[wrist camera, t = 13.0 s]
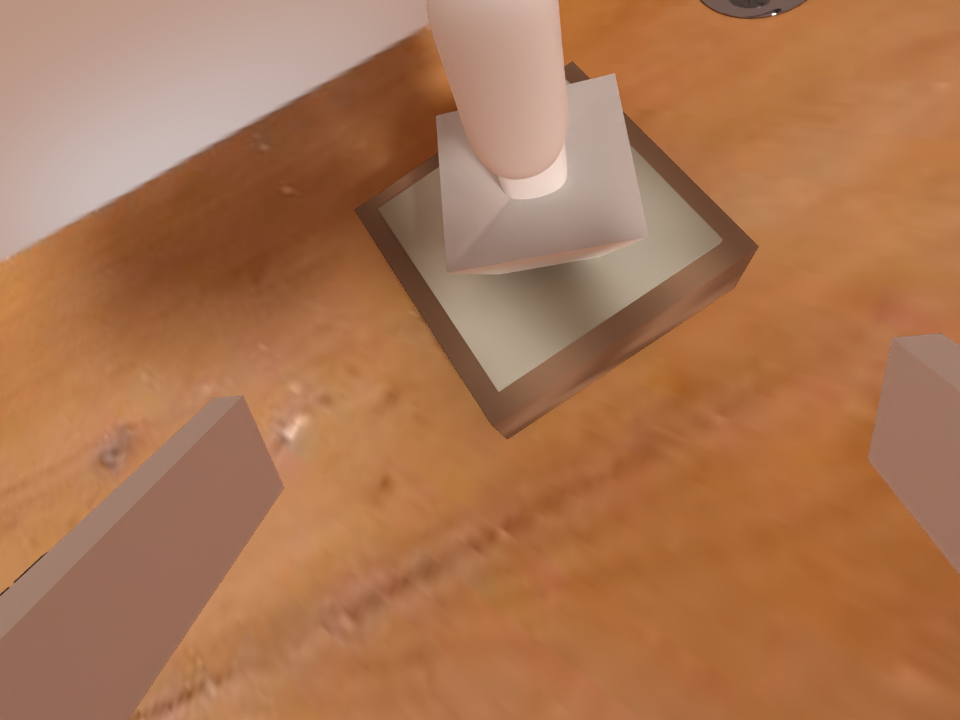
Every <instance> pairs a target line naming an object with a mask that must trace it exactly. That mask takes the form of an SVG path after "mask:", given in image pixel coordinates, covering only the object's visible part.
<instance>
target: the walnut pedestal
mask: <svg viewBox="0 0 960 720" xmlns="http://www.w3.org/2000/svg"><path fill="white" fill-rule="evenodd" d="M564 70H565V79H566V85H568V84H572V83H576V82H580V81H585V80H589V79H590V78H589V77H588V76H587V75H586V74H585V73H584V72H583V71H582V70H581V69H580V68H579V67H578V66H577V65H576V64H575V63H574V62H573V61H572V62H570V63H569V64H568V65H566V66H565V67H564ZM623 115H624V119H625V124H626V129H627V134H628V139H629V143H630V148H631V153H632V158H633V163H634V167H635V172H636V177H637V182H638V187H639V191H640V196H641V201H642V206H643V211H644V215H645V220H646V225H647V230H648V235H649V237H647V238H645V239H642V240H640V241H638V242H635V243H633V244H630V245H628V246H625V247H623V248H620V249H618V250H616V251H613V252H611V253H608V254H606V255H603V256H601V257H597V258H591V259H586V260H580V261H574V262H568V263H563V264H557V265H551V266H546V267H540V268H534V269H528V270H523V271H517V272H511V273H506V274H500V275H496V274H463V273H447V269H446V255H445V241H444V226H443V212H442V198H441V183H440V169H439V155H438V153H437V154H436V155H434V156H433V157H431V158H430V159H428V160H427V161H425V162H424V163H422V164H421V165H419V166H418V167H417V168H415V169H414V170H412V171H411V172H409V173H408V174H406V175H405V176H403V177H402V178H400V179H399V180H397V181H396V182H395V183H393V184H392V185H390V186H389V187H387V188H386V189H384V190H383V191H381V192H380V193H378V194H377V195H375V196H374V197H373V198H371V199H370V200H368V201H367V202H365V203H364V204H362V205H361V206H359V207H358V208H356V209H355V211H356V213H357V215H358V216H359V218H360V219H361V221H362V222H363V224H364V226H365V227H366V229H367V230H368V232H369V233H370V235H371V237H372V238H373V240H374V241H375V243H376V245H377V246H378V248H379V249H380V251H381V252H382V254H383V256H384V257H385V259H386V260H387V262H388V263H389V265H390V267H391V268H392V270H393V271H394V273H395V274H396V276H397V278H398V279H399V281H400V282H401V284H402V285H403V287H404V289H405V290H406V292H407V293H408V295H409V296H410V298H411V300H412V301H413V303H414V304H415V306H416V307H417V309H418V311H419V312H420V314H421V315H422V317H423V318H424V320H425V322H426V323H427V325H428V326H429V328H430V329H431V331H432V333H433V334H434V336H435V337H436V339H437V340H438V342H439V344H440V345H441V347H442V348H443V350H444V351H445V353H446V355H447V356H448V358H449V359H450V361H451V363H452V364H453V366H454V367H455V369H456V370H457V372H458V374H459V375H460V377H461V378H462V380H463V381H464V383H465V385H466V386H467V388H468V389H469V391H470V392H471V394H472V396H473V397H474V399H475V400H476V402H477V403H478V405H479V407H480V408H481V410H482V411H483V413H484V414H485V416H486V418H487V419H488V421H489V422H490V424H491V425H492V426H493V427H494V428H495V429H496V430H497V431H499V432H500V433H501V434H502V435H503V436H504V437H505V438H506V439H509V438H510V437H512V436H513V435H515V434H516V433H518V432H519V431H521V430H522V429H524V428H525V427H527V426H528V425H530V424H531V423H533V422H534V421H536V420H537V419H539V418H540V417H542V416H543V415H545V414H546V413H548V412H549V411H551V410H552V409H554V408H555V407H557V406H558V405H560V404H561V403H563V402H564V401H566V400H567V399H569V398H570V397H572V396H573V395H575V394H576V393H578V392H579V391H581V390H582V389H584V388H585V387H587V386H588V385H590V384H591V383H593V382H594V381H595V380H597V379H598V378H600V377H601V376H603V375H604V374H606V373H607V372H609V371H610V370H612V369H613V368H615V367H616V366H618V365H619V364H621V363H622V362H624V361H625V360H627V359H628V358H630V357H631V356H633V355H634V354H636V353H637V352H639V351H640V350H642V349H643V348H645V347H646V346H648V345H649V344H651V343H652V342H654V341H655V340H657V339H658V338H660V337H661V336H663V335H664V334H666V333H667V332H669V331H670V330H672V329H673V328H675V327H676V326H678V325H679V324H681V323H682V322H684V321H685V320H687V319H688V318H690V317H691V316H693V315H694V314H696V313H697V312H699V311H700V310H702V309H703V308H705V307H706V306H708V305H709V304H711V303H712V302H714V301H715V300H717V299H718V298H720V297H721V296H723V295H724V294H726V293H727V292H729V291H730V290H732V289H733V288H735V286H736V284H737V283H738V281H739V279H740V277H741V276H742V274H743V272H744V271H745V269H746V267H747V266H748V264H749V262H750V260H751V259H752V257H753V255H754V254H755V252H756V250H757V248H758V247H759V246H758V245H757V244H756V243H755V242H754V241H753V240H752V239H751V238H750V237H749V236H748V235H747V234H746V233H745V232H744V231H743V230H742V229H741V228H740V227H739V226H738V225H737V224H736V223H735V222H734V221H733V220H732V219H731V218H730V217H729V216H728V215H727V214H726V213H725V212H724V211H723V210H722V209H721V208H720V207H719V206H717V205H716V204H715V203H714V202H713V201H712V200H711V199H710V198H709V197H708V196H707V195H706V194H705V193H704V192H703V191H702V190H701V189H700V188H699V187H698V186H697V185H696V184H695V183H694V182H693V181H692V180H691V179H690V178H689V177H688V176H687V175H686V174H685V173H684V172H683V171H682V170H681V169H680V168H679V167H678V166H677V165H676V164H675V163H674V162H673V161H672V160H671V159H670V158H669V157H668V156H667V155H666V154H665V153H664V152H663V151H662V150H661V149H660V148H659V147H658V146H657V145H656V144H655V143H654V142H653V141H652V140H651V139H650V138H649V137H648V136H647V135H646V134H645V133H644V132H643V131H642V130H641V129H640V128H639V127H638V126H637V125H636V124H635V123H634V122H633V121H632V120H631V119H630V118H629V117H628V116H627V115H626V114H625V113H624V112H623Z"/></svg>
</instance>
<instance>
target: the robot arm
mask: <svg viewBox="0 0 960 720" xmlns="http://www.w3.org/2000/svg"><path fill="white" fill-rule="evenodd" d="M868 461H869V462H870V463H871V464H872V466H873V467H874V468H875V469H876V471H877V472H878V473H879V474H880V476H881V477H882V478H883V479H884V481H885V482H886V483H887V484H888V486H889V487H890V488H891V489H892V491H893V492H894V493H895V494H896V496H897V497H898V498H899V499H900V501H901V502H902V503H903V504H904V506H905V507H906V508H907V509H908V511H909V512H910V513H911V514H912V516H913V517H914V518H915V519H916V521H917V522H918V523H919V524H920V526H921V527H922V528H923V529H924V531H925V532H926V533H927V534H928V536H929V537H930V538H931V539H932V541H933V542H934V543H935V544H936V546H937V547H938V548H939V549H940V551H941V552H942V553H943V554H944V556H945V557H946V558H947V559H948V561H949V562H950V563H951V564H952V566H953V567H954V568H955V569H956V571H957V572H958V573H959V574H960V345H958V344H957V343H955V342H954V341H952V340H951V339H949V338H948V337H946V336H945V335H943V334H942V333H939V334H928V335H916V336H905V337H894V338H892V341H891V346H890V351H889V356H888V361H887V366H886V371H885V376H884V381H883V386H882V391H881V396H880V401H879V406H878V411H877V416H876V421H875V425H874V430H873V435H872V440H871V445H870V450H869V455H868ZM283 489H284V485H283V483H282V481H281V479H280V476H279V474H278V472H277V470H276V468H275V465H274V463H273V461H272V459H271V456H270V454H269V452H268V450H267V448H266V445H265V443H264V441H263V439H262V436H261V434H260V432H259V430H258V428H257V425H256V423H255V421H254V419H253V416H252V414H251V412H250V410H249V408H248V405H247V403H246V401H245V399H244V396H243V395H242V396H231V397H220V398H213V399H212V400H211V401H210V402H209V403H208V404H207V405H206V406H205V407H204V408H203V409H202V410H200V411H199V412H198V413H197V414H196V415H195V416H194V417H193V418H192V419H191V420H190V421H189V422H188V423H186V424H185V425H184V426H183V427H182V428H181V429H180V430H179V431H178V432H177V433H176V434H175V435H174V436H172V437H171V438H170V439H169V440H168V441H167V442H166V443H165V444H164V445H163V446H162V447H161V448H160V449H158V450H157V451H156V452H155V453H154V454H153V455H152V456H151V457H150V458H149V459H148V460H147V461H146V462H144V463H143V464H142V465H141V466H140V467H139V468H138V469H137V470H136V471H135V472H134V473H133V474H132V475H130V476H129V477H128V478H127V479H126V480H125V481H124V482H123V483H122V484H121V485H120V486H119V487H118V488H116V489H115V490H114V491H113V492H112V493H111V494H110V495H109V496H108V497H107V498H106V499H105V500H104V501H102V502H101V503H100V504H99V505H98V506H97V507H96V508H95V509H94V510H93V511H92V512H91V513H90V514H88V515H87V516H86V517H85V518H84V519H83V520H82V521H81V522H80V523H79V524H78V525H77V526H76V527H74V528H73V529H72V530H71V531H70V532H69V533H68V534H67V535H66V536H65V537H64V538H63V539H62V540H60V541H59V542H58V543H57V544H56V545H55V546H54V547H53V548H52V549H51V550H50V551H49V552H47V553H46V554H44V555H43V556H41V557H40V558H39V559H38V560H37V561H36V562H35V563H34V564H33V565H32V566H31V567H29V568H28V569H27V570H26V571H25V572H24V573H23V574H22V575H21V576H20V577H19V578H18V579H16V580H15V581H14V584H13V585H12V586H11V587H8V588H7V589H6V590H5V591H3V592H2V593H1V594H0V720H129V718H130V717H131V715H132V714H133V712H134V711H135V709H136V708H137V706H138V705H139V703H140V702H141V700H142V699H143V697H144V696H145V694H146V693H147V691H148V690H149V688H150V687H151V685H152V684H153V682H154V681H155V679H156V678H157V676H158V675H159V673H160V672H161V670H162V669H163V668H164V666H165V665H166V663H167V662H168V660H169V659H170V657H171V656H172V654H173V653H174V651H175V650H176V648H177V647H178V645H179V644H180V642H181V641H182V639H183V638H184V636H185V635H186V633H187V632H188V630H189V629H190V627H191V626H192V624H193V623H194V621H195V620H196V618H197V617H198V615H199V614H200V612H201V611H202V609H203V608H204V606H205V605H206V603H207V602H208V601H209V599H210V598H211V596H212V595H213V593H214V592H215V590H216V589H217V587H218V586H219V584H220V583H221V581H222V580H223V578H224V577H225V575H226V574H227V572H228V571H229V569H230V568H231V566H232V565H233V563H234V562H235V560H236V559H237V557H238V556H239V554H240V553H241V551H242V550H243V548H244V547H245V545H246V544H247V542H248V541H249V539H250V538H251V537H252V535H253V534H254V532H255V531H256V529H257V528H258V526H259V525H260V523H261V522H262V520H263V519H264V517H265V516H266V514H267V513H268V511H269V510H270V508H271V507H272V505H273V504H274V502H275V501H276V499H277V498H278V496H279V495H280V493H281V492H282V490H283Z"/></svg>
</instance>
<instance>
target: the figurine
mask: <svg viewBox="0 0 960 720" xmlns="http://www.w3.org/2000/svg"><path fill="white" fill-rule="evenodd" d="M427 12H428V18H429V23H430V27H431V31H432V34H433V38H434V41H435V44H436V47H437V50H438V52H439V55H440V58H441V61H442V64H443V67H444V70H445V73H446V76H447V79H448V82H449V85H450V88H451V91H452V94H453V97H454V100H455V103H456V106H457V109H458V111H453V112H449V113H445V114H441V115H436V126H437V140H438V155H439V169H440V183H441V198H442V212H443V226H444V241H445V255H446V269H447V273H463V274H496V275H500V274H506V273H511V272H517V271H523V270H528V269H534V268H540V267H546V266H551V265H557V264H563V263H568V262H574V261H580V260H586V259H591V258H597V257H601V256H603V255H606V254H608V253H611V252H613V251H616V250H618V249H620V248H623V247H625V246H628V245H630V244H633V243H635V242H638V241H640V240H642V239H645V238H647V237H649V235H648V230H647V225H646V220H645V215H644V211H643V206H642V201H641V196H640V191H639V187H638V182H637V177H636V172H635V167H634V163H633V158H632V153H631V148H630V143H629V139H628V134H627V129H626V124H625V119H624V115H623V110H622V105H621V100H620V95H619V91H618V86H617V81H616V76H615V73H614V74H610V75H606V76H602V77H597V78H593V79H589V80H585V81H580V82H576V83H572V84H568V85H566V79H565V70H564V60H563V50H562V39H561V27H560V14H559V2H558V0H427Z"/></svg>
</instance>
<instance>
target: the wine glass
mask: <svg viewBox="0 0 960 720" xmlns="http://www.w3.org/2000/svg"><path fill="white" fill-rule="evenodd" d="M701 1H702V2H703V3H704V4H705V5H706V6H708V7H709V8H711V9H712V10H714V11H716V12H718V13H721V14H724V15H727V16H731V17H737V18H749V19H754V18H765V17H770V16H775V15H778V14H781V13H784V12H787V11H790V10H792V9H794V8H796V7H798V6H800V5H801V4H802V3H804V2H805V1H807V0H701Z"/></svg>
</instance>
